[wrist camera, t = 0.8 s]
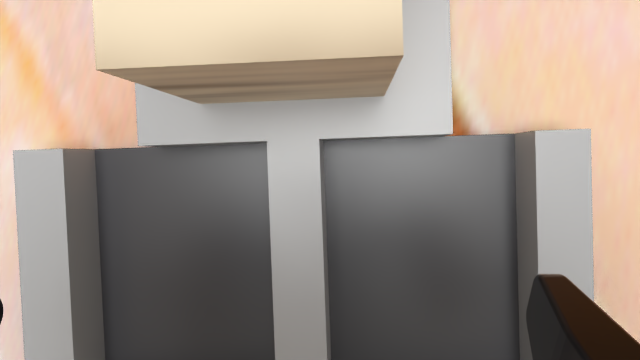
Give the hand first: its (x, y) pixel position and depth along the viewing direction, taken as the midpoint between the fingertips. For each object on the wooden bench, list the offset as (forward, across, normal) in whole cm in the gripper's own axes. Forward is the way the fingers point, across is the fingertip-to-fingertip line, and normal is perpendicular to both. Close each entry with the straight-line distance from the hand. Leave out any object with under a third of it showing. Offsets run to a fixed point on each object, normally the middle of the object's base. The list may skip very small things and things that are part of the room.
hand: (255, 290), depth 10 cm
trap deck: (+17, +1, +3) cm, 17 cm away
